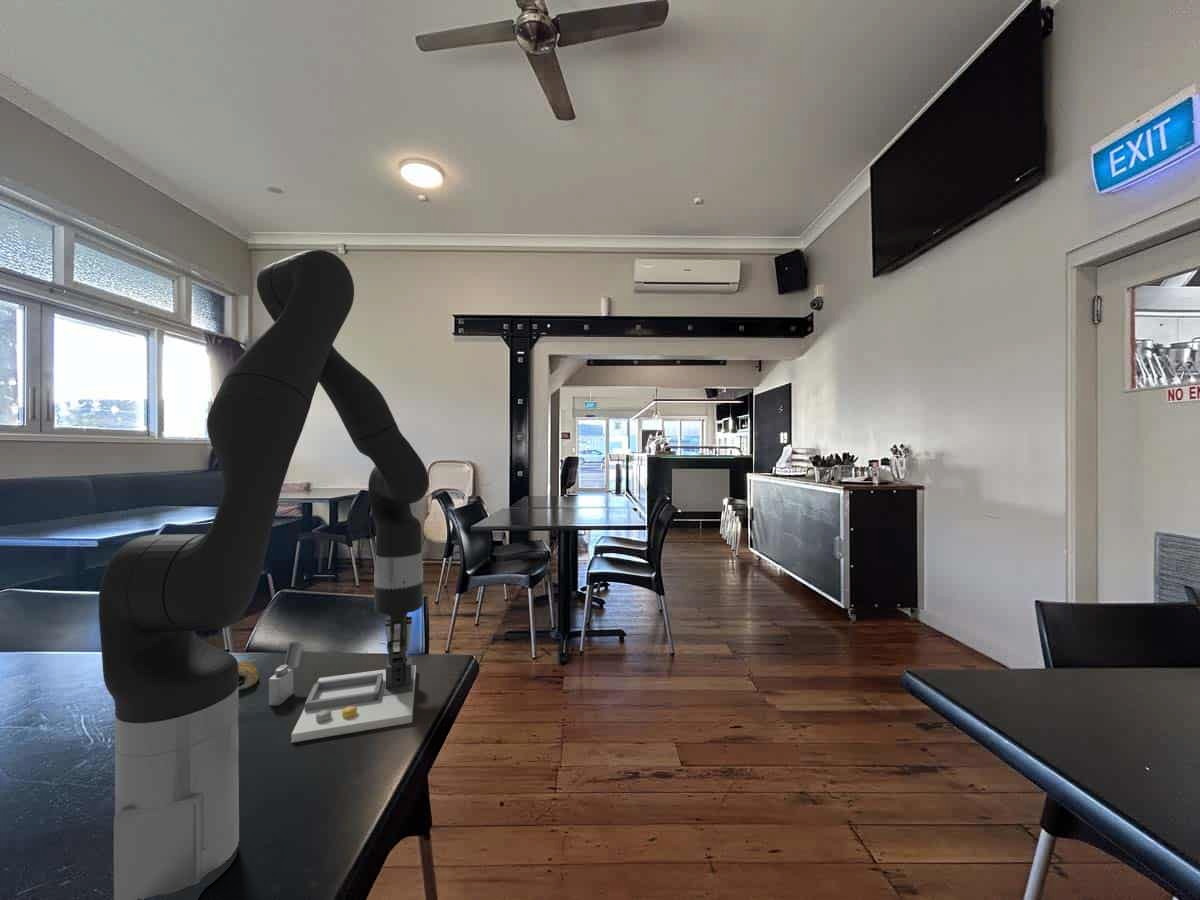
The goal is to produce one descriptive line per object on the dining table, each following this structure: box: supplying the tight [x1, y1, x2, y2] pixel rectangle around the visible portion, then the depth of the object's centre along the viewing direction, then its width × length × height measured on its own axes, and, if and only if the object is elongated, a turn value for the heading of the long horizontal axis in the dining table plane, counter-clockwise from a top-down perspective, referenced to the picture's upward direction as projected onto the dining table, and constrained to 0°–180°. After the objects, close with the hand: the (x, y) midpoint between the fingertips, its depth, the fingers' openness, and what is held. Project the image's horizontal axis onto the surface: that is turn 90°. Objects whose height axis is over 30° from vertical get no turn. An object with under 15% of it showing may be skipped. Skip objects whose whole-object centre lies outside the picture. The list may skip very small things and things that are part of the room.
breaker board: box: [290, 664, 417, 744], centre depth 81 cm, size 18×16×2 cm
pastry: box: [238, 661, 260, 691], centre depth 88 cm, size 9×7×4 cm
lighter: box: [268, 641, 304, 706], centre depth 84 cm, size 7×2×8 cm, turn 3°
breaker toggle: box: [385, 657, 413, 688], centre depth 85 cm, size 3×4×4 cm
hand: (399, 684), depth 82 cm, fingers closed
